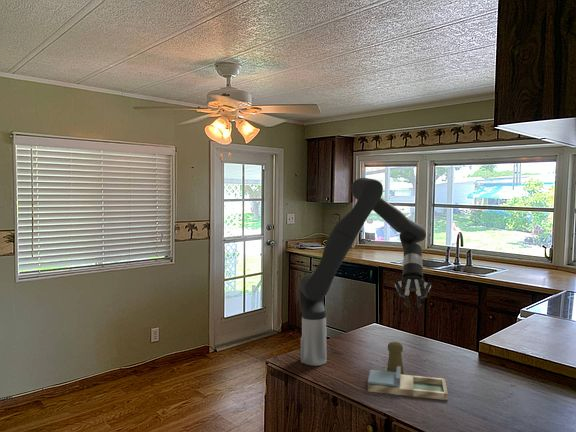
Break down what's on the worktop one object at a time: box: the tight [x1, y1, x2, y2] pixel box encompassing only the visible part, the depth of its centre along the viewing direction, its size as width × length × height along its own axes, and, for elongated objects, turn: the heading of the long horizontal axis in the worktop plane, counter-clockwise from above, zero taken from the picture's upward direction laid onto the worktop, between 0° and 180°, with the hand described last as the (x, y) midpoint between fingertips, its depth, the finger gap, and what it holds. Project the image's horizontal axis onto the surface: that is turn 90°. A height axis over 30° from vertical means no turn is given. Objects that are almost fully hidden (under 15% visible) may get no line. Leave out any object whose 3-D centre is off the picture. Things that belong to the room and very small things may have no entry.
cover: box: [367, 366, 401, 387], centre depth 139 cm, size 10×10×3 cm
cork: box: [386, 341, 405, 375], centre depth 148 cm, size 6×6×11 cm
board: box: [367, 374, 449, 401], centre depth 137 cm, size 24×11×2 cm, turn 74°
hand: (412, 306), depth 154 cm, fingers open, 3 cm apart
